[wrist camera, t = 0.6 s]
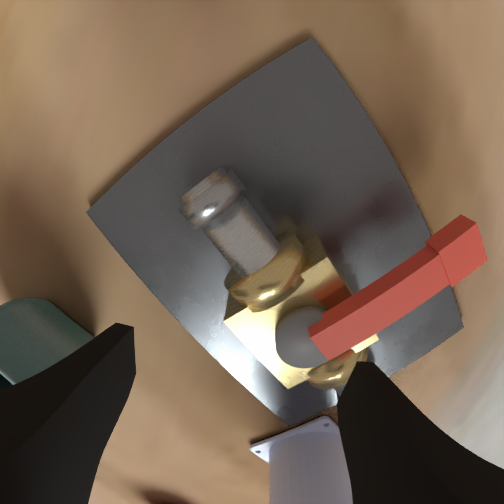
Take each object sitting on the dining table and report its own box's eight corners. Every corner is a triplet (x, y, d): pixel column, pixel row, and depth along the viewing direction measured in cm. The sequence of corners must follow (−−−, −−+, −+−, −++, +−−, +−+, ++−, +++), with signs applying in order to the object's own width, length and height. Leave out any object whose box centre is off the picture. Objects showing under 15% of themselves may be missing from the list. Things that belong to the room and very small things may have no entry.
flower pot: (36, 263, 19) (-44, 328, 11) (128, 337, 21) (78, 431, 13) (14, 331, 22) (-41, 393, 13) (90, 390, 24) (51, 467, 15)
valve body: (460, 322, 20) (487, 357, 16) (288, 420, 24) (291, 462, 20) (310, 40, 14) (326, 13, 10) (90, 209, 18) (51, 232, 14)
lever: (295, 364, 17) (299, 389, 15) (262, 327, 16) (262, 350, 14) (470, 253, 14) (489, 267, 12) (452, 203, 13) (473, 213, 11)
